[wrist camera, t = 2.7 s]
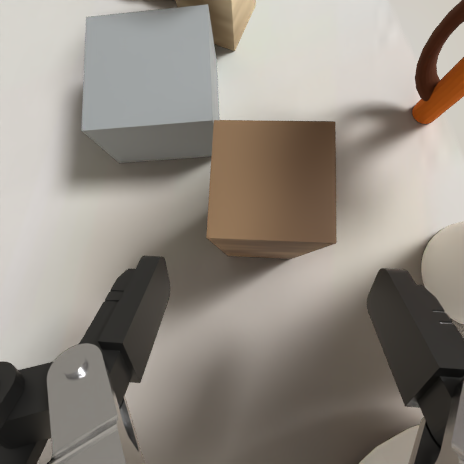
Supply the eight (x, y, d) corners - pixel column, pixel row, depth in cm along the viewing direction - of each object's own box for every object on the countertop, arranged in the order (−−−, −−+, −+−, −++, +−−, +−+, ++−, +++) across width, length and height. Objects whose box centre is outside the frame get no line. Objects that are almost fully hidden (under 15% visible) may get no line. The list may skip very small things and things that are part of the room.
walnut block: (227, 255, 19) (206, 237, 10) (230, 195, 20) (213, 120, 10) (291, 258, 19) (336, 243, 9) (291, 197, 20) (335, 121, 10)
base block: (120, 164, 21) (81, 130, 16) (121, 73, 22) (86, 16, 18) (221, 156, 21) (212, 120, 16) (217, 64, 22) (208, 4, 17)
